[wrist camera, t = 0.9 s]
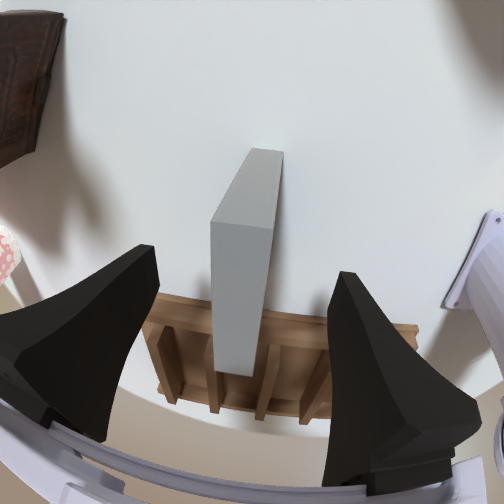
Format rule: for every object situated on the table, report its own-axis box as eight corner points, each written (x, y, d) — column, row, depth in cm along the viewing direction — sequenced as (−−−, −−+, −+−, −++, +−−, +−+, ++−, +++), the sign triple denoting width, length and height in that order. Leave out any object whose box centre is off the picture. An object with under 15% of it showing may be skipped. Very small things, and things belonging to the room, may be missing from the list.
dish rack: (417, 325, 19) (428, 361, 16) (361, 402, 27) (363, 430, 24) (134, 287, 21) (114, 321, 18) (160, 375, 28) (150, 403, 25)
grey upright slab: (283, 151, 14) (272, 228, 7) (269, 263, 18) (252, 376, 11) (251, 147, 14) (210, 221, 7) (243, 260, 18) (214, 370, 11)
